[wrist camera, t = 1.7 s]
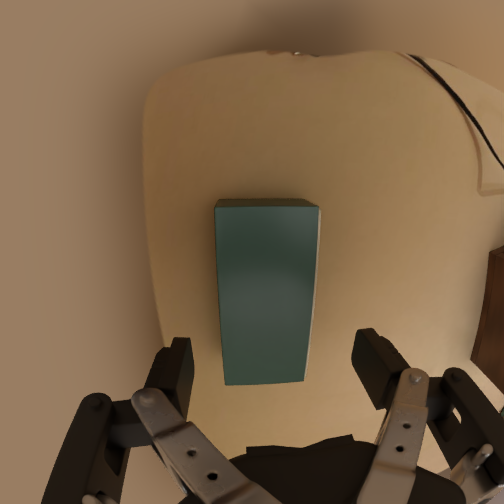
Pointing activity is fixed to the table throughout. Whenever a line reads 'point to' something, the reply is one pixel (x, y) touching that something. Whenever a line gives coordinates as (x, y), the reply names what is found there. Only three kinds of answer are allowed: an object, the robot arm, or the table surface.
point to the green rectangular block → (266, 287)
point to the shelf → (492, 323)
